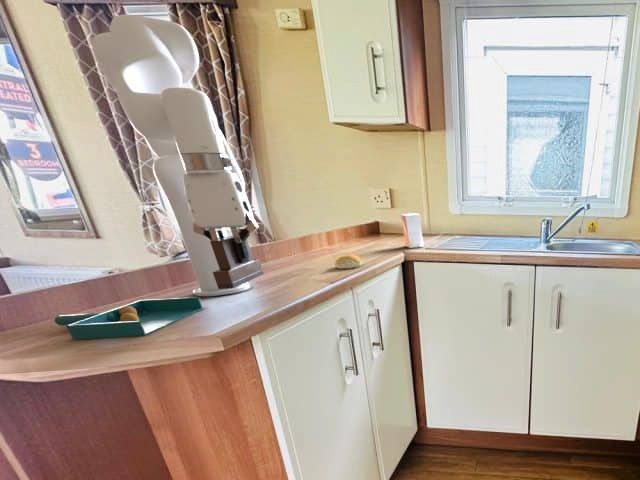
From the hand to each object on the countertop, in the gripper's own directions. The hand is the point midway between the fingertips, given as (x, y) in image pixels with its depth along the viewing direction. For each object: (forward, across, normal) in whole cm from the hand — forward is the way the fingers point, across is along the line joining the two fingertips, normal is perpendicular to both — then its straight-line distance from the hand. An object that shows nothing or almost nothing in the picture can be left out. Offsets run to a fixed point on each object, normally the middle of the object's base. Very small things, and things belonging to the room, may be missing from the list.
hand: (236, 262), depth 90 cm
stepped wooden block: (+4, 0, 0) cm, 4 cm away
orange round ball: (+7, +22, +5) cm, 24 cm away
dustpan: (+10, +22, +8) cm, 26 cm away
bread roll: (+10, -9, -50) cm, 52 cm away
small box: (+10, -25, -96) cm, 100 cm away
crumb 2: (+9, +16, +12) cm, 22 cm away
